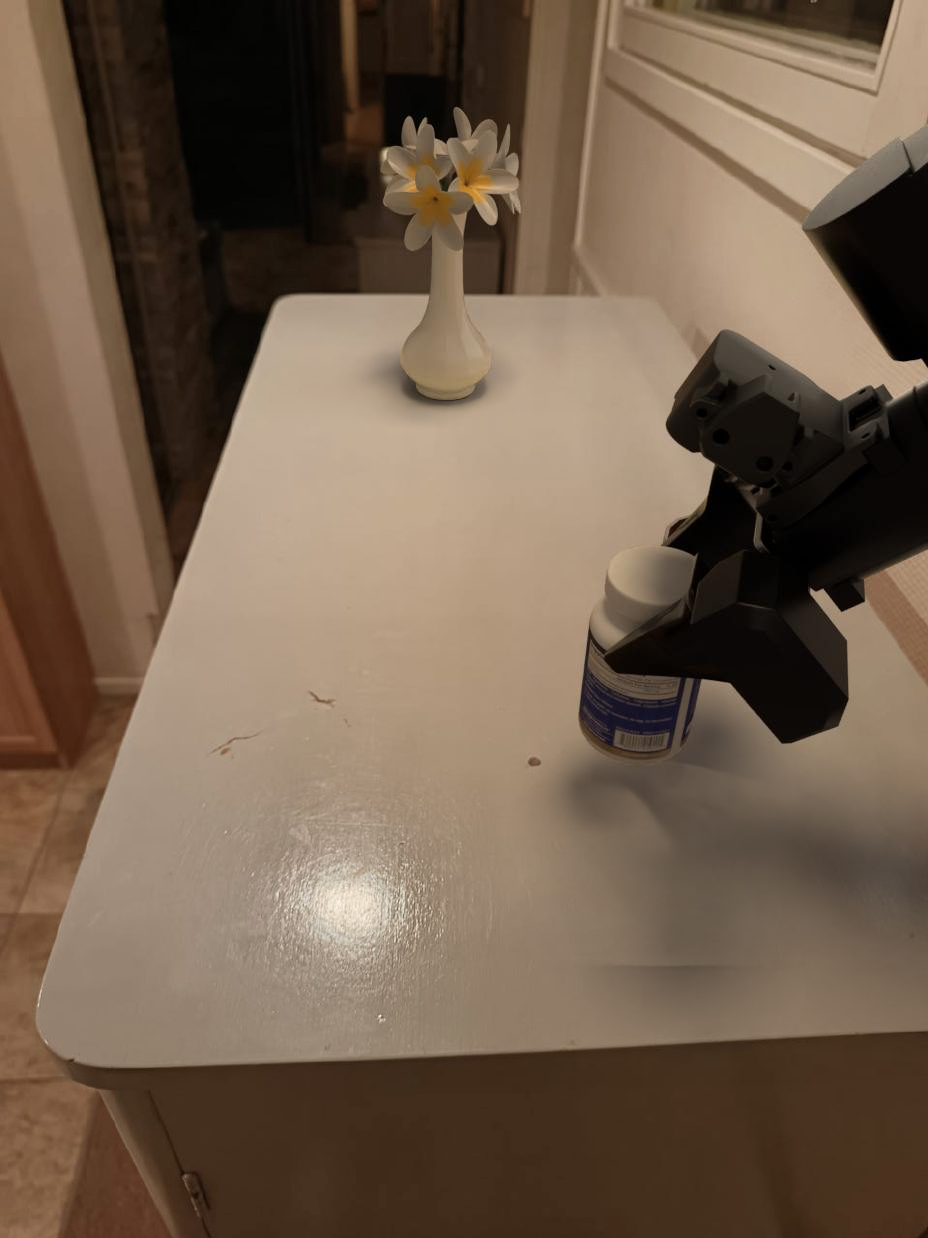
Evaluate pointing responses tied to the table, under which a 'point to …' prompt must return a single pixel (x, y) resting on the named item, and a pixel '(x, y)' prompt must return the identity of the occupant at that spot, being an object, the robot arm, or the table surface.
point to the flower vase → (447, 242)
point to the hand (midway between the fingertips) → (621, 624)
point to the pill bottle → (636, 704)
